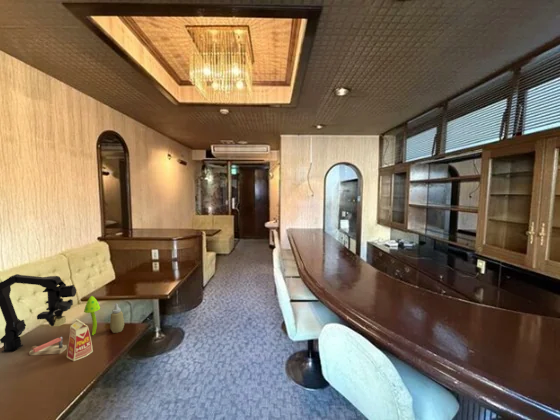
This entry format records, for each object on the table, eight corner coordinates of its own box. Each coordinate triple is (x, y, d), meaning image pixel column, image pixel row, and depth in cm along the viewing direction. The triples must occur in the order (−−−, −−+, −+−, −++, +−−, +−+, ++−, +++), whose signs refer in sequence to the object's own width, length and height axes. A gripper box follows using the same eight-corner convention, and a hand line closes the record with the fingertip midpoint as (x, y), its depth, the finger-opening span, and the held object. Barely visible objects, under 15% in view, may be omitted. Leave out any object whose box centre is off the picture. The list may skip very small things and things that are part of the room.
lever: (35, 352, 137) (35, 349, 137) (33, 351, 137) (32, 348, 137) (63, 339, 149) (63, 337, 149) (61, 339, 149) (61, 336, 149)
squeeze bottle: (127, 328, 174) (126, 301, 173) (118, 334, 166) (117, 306, 165) (116, 327, 175) (115, 301, 174) (107, 333, 167) (105, 306, 166)
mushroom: (81, 337, 162) (79, 298, 161) (92, 330, 170) (90, 293, 169) (95, 338, 162) (93, 298, 160) (104, 331, 170) (102, 293, 169)
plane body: (28, 355, 145) (28, 344, 144) (36, 350, 150) (35, 339, 149) (60, 353, 146) (59, 342, 146) (67, 348, 151) (66, 337, 151)
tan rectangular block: (49, 326, 154) (48, 319, 153) (55, 322, 158) (54, 316, 158) (60, 325, 154) (59, 319, 154) (65, 322, 159) (65, 315, 158)
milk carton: (66, 357, 143) (64, 321, 142) (85, 348, 151) (83, 314, 150) (75, 362, 139) (73, 325, 137) (94, 352, 147) (92, 317, 146)
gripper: (56, 304, 146) (58, 331, 147) (79, 291, 165) (80, 316, 166) (35, 305, 145) (36, 332, 146) (60, 292, 164) (61, 316, 165)
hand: (55, 323), depth 156 cm, fingers closed on tan rectangular block, 4 cm apart
